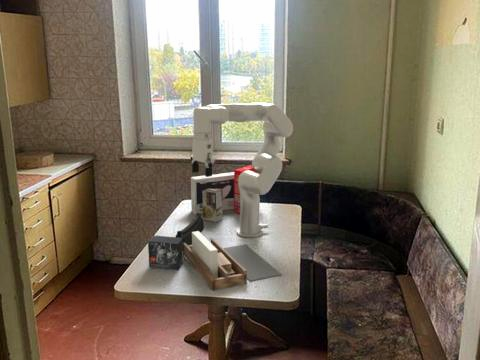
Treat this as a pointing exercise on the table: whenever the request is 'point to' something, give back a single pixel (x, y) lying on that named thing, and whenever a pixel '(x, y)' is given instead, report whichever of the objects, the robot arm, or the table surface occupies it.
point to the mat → (252, 263)
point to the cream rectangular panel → (205, 252)
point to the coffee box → (212, 205)
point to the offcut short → (224, 261)
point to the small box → (165, 252)
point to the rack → (223, 277)
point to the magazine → (191, 229)
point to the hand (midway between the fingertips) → (202, 174)
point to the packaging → (213, 182)
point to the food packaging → (236, 187)
